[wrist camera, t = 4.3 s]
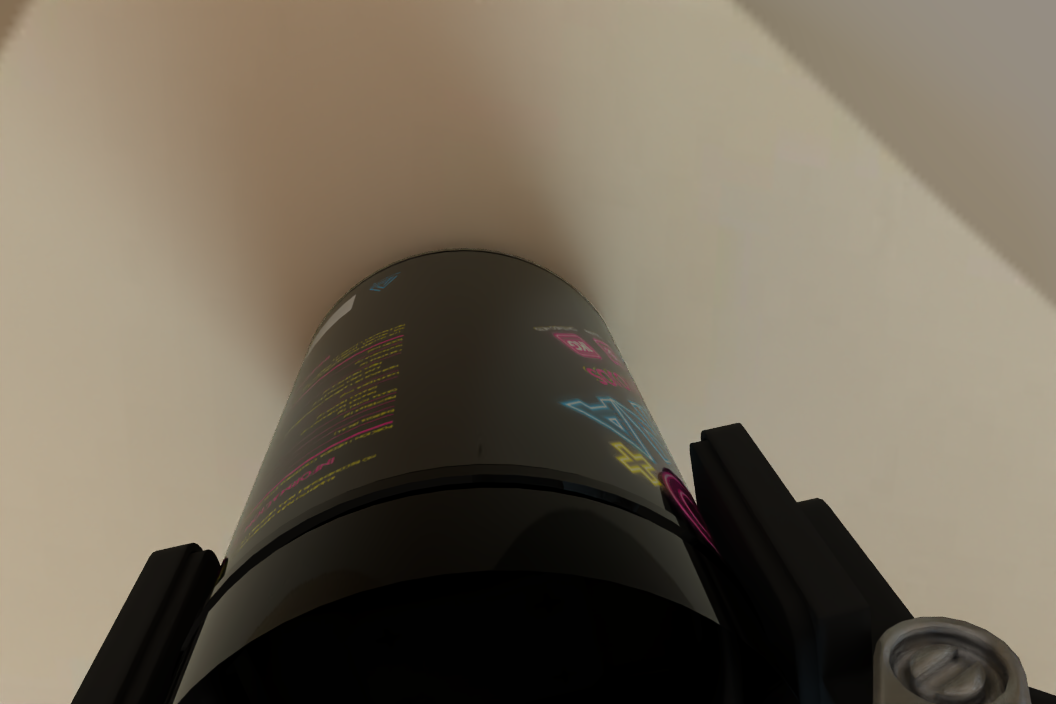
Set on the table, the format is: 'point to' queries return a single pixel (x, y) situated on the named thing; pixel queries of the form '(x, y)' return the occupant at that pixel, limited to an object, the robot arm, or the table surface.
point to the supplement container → (472, 518)
